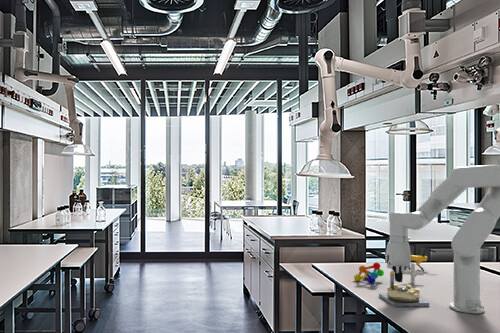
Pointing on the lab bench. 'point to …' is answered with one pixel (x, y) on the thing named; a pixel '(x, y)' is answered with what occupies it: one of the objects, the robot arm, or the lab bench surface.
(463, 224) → the robot arm
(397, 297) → the brass dial with handle
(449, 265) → the lab bench surface
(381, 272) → the molecular model
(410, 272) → the pipe connector
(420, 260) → the robot dog
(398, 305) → the base plate
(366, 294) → the lab bench surface
